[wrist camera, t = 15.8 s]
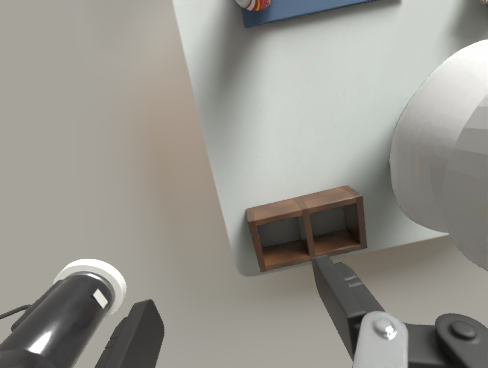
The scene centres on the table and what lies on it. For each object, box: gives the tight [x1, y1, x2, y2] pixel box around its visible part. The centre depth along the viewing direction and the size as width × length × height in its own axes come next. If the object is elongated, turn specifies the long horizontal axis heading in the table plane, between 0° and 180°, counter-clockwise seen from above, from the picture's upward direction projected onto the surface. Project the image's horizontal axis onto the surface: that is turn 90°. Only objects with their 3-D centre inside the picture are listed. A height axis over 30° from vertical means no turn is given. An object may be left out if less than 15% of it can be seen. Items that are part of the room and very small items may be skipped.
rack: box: [246, 186, 367, 272], centre depth 39 cm, size 17×9×5 cm, turn 103°
